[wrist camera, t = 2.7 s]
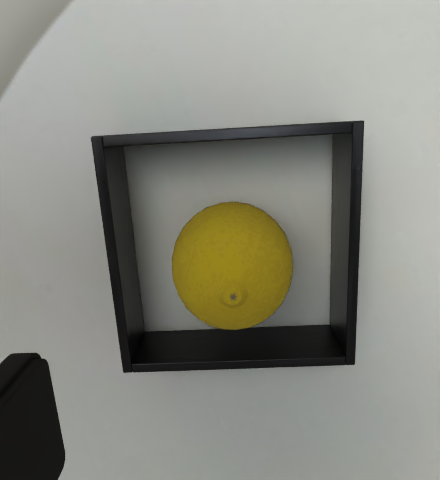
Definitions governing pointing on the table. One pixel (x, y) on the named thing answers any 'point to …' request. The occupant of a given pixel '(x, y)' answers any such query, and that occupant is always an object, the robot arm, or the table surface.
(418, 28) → the table surface
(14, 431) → the robot arm
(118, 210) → the black square frame
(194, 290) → the lemon
